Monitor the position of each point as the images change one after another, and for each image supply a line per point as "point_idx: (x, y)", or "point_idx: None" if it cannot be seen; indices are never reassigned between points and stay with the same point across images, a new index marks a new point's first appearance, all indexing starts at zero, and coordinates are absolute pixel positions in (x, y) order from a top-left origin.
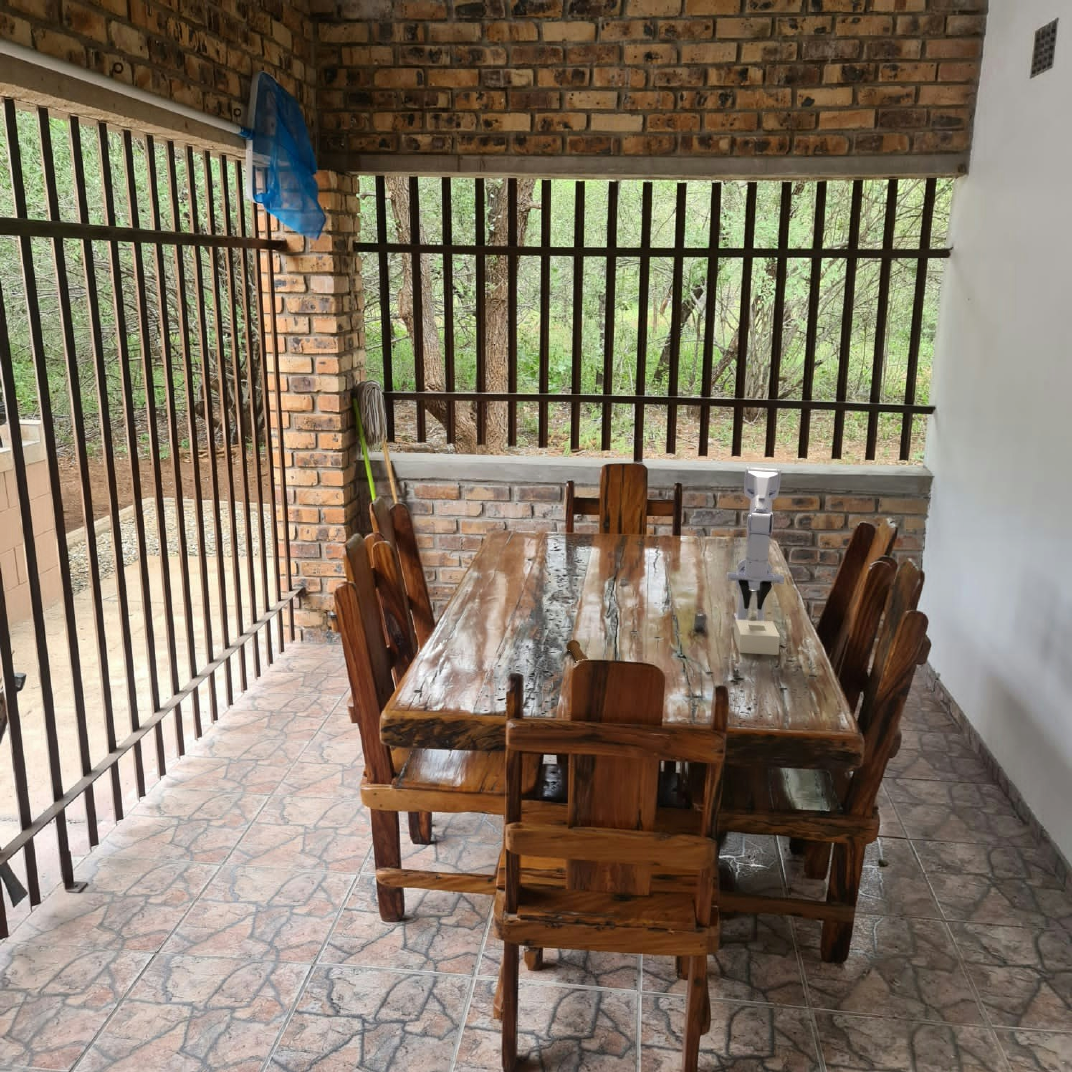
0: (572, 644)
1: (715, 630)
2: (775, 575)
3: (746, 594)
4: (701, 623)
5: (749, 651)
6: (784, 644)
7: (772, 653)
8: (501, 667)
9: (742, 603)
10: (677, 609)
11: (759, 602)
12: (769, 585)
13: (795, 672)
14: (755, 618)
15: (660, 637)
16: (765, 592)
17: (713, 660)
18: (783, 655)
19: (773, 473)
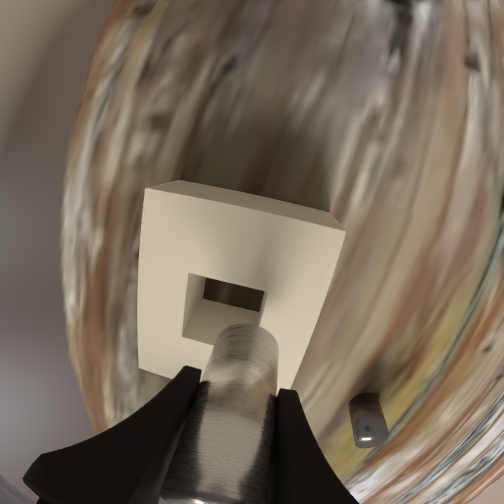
0: None
1: (318, 402)
2: None
3: (307, 477)
4: (372, 412)
5: (291, 204)
6: (132, 280)
7: (199, 184)
8: None
9: None
10: (339, 479)
11: (185, 409)
12: (41, 494)
13: (182, 23)
14: (231, 332)
15: (482, 349)
16: (108, 454)
17: (444, 152)
18: (162, 176)
19: None
